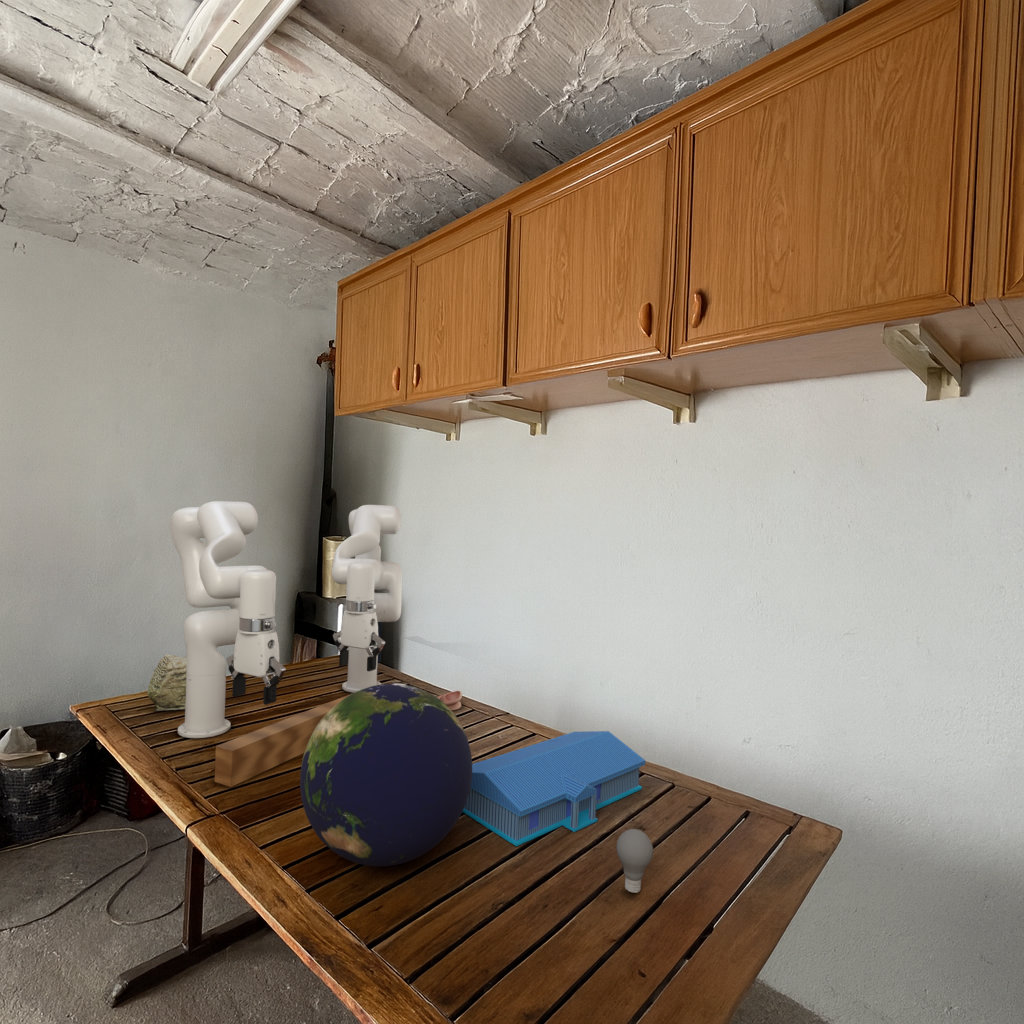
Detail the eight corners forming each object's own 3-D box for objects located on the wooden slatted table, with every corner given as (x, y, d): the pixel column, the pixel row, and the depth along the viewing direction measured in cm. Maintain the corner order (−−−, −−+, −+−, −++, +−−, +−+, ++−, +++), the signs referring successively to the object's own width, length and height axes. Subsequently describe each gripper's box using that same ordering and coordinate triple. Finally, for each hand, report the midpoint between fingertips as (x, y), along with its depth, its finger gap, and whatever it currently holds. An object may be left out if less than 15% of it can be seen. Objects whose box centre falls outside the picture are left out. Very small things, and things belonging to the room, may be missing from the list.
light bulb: (610, 879, 108) (613, 822, 108) (644, 879, 109) (647, 822, 109) (619, 902, 102) (622, 840, 102) (655, 901, 103) (658, 840, 103)
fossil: (144, 707, 182) (145, 655, 182) (212, 696, 194) (213, 647, 194) (151, 716, 175) (153, 662, 175) (221, 703, 188) (223, 653, 188)
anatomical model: (412, 696, 190) (425, 685, 201) (412, 709, 190) (424, 698, 201) (455, 701, 187) (465, 690, 199) (454, 714, 188) (465, 702, 199)
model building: (528, 854, 115) (530, 799, 115) (447, 802, 133) (449, 755, 133) (654, 793, 142) (656, 749, 141) (573, 757, 160) (574, 718, 159)
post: (230, 787, 136) (231, 750, 136) (214, 781, 138) (215, 746, 138) (380, 717, 183) (381, 690, 183) (366, 714, 185) (367, 687, 185)
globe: (257, 876, 105) (264, 696, 104) (364, 800, 133) (370, 657, 132) (413, 929, 94) (422, 728, 93) (494, 834, 121) (501, 678, 121)
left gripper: (297, 626, 143) (294, 701, 144) (243, 617, 151) (240, 688, 151) (271, 632, 137) (268, 711, 137) (216, 622, 144) (213, 696, 144)
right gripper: (393, 608, 176) (390, 669, 176) (344, 601, 183) (342, 660, 183) (376, 611, 169) (373, 675, 169) (326, 604, 176) (323, 666, 177)
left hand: (254, 699), depth 144 cm, fingers open, 9 cm apart
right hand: (357, 667), depth 176 cm, fingers open, 9 cm apart
